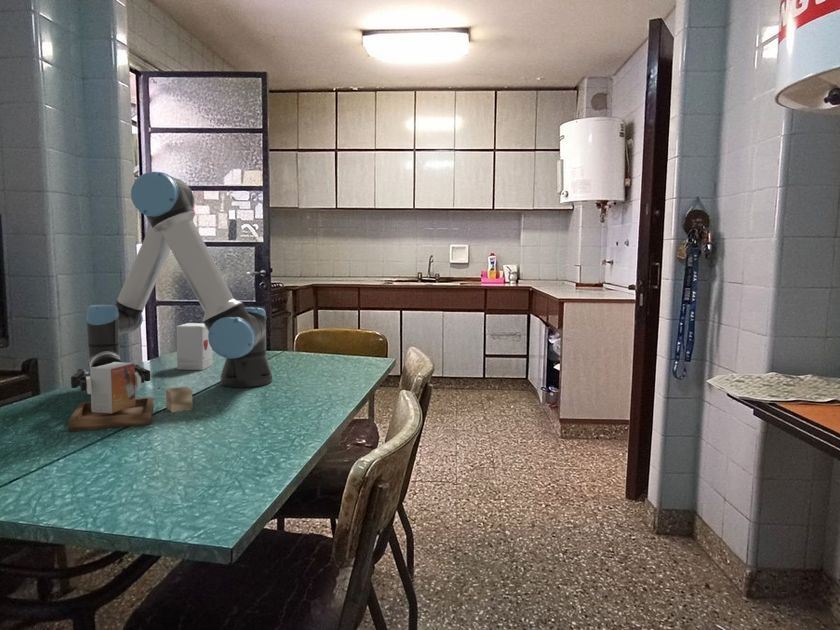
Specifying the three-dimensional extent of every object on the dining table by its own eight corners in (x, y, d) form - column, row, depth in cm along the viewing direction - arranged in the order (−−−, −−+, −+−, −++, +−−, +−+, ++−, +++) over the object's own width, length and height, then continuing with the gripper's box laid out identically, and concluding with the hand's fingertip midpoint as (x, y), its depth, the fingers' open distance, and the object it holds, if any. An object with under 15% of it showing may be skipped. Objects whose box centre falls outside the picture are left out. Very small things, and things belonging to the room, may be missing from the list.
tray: (153, 406, 140) (153, 397, 140) (150, 424, 126) (150, 413, 125) (80, 412, 134) (80, 402, 134) (68, 431, 119) (68, 420, 119)
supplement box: (203, 370, 185) (202, 326, 183) (176, 369, 185) (175, 325, 183) (213, 365, 194) (212, 323, 192) (188, 364, 194) (187, 322, 192)
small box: (111, 414, 125) (110, 369, 124) (90, 412, 126) (88, 367, 125) (136, 405, 133) (135, 362, 132) (116, 403, 134) (114, 361, 133)
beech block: (186, 405, 143) (186, 386, 142) (192, 409, 139) (192, 390, 138) (166, 408, 139) (165, 389, 139) (171, 412, 136) (170, 393, 135)
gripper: (153, 377, 150) (167, 396, 132) (57, 386, 138) (58, 408, 120) (152, 350, 150) (166, 365, 131) (56, 357, 137) (56, 374, 119)
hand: (114, 385), depth 125 cm, fingers closed on small box, 9 cm apart
